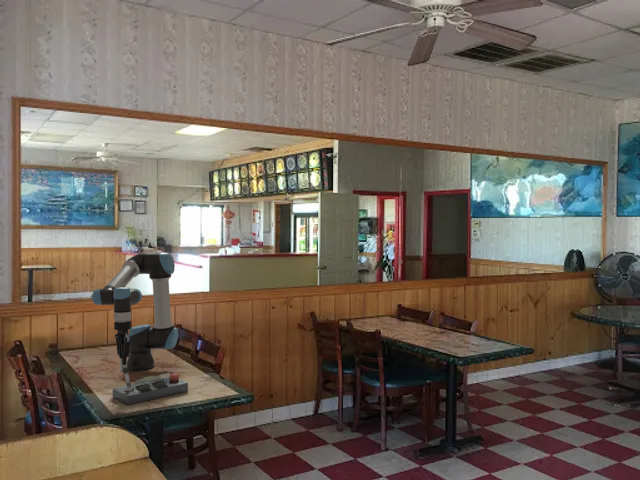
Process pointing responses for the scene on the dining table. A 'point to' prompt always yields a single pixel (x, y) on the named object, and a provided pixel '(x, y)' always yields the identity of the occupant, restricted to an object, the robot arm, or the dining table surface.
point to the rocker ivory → (161, 376)
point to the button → (174, 377)
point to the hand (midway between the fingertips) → (123, 371)
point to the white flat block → (144, 380)
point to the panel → (149, 390)
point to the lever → (127, 377)
